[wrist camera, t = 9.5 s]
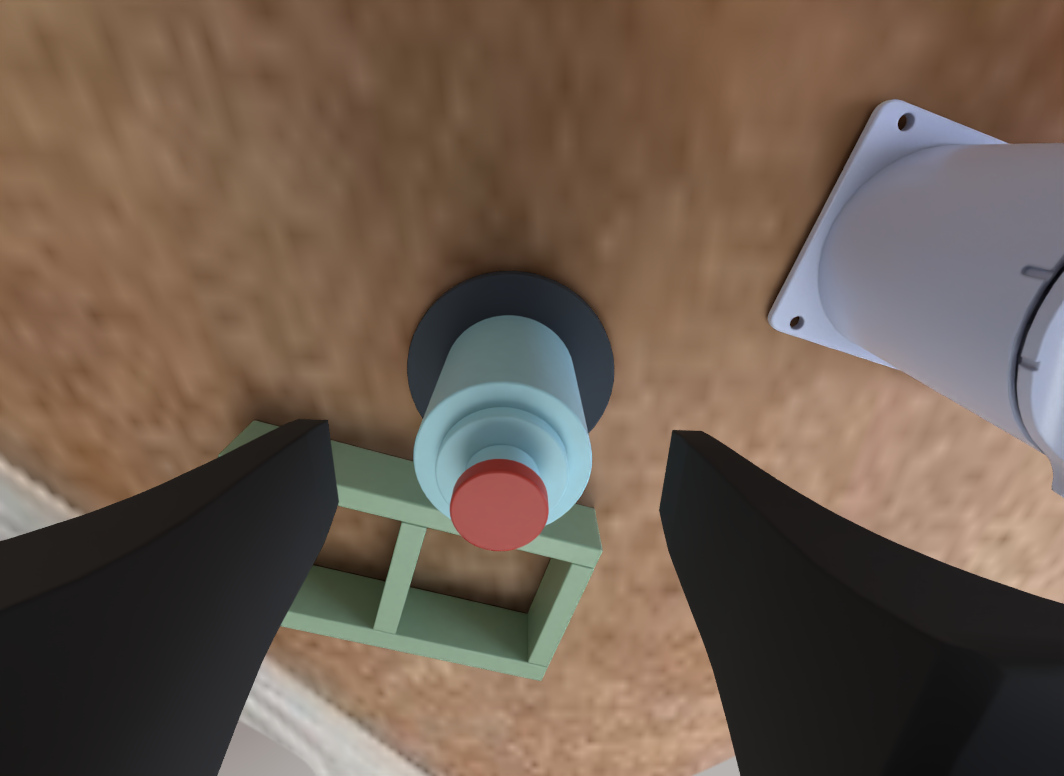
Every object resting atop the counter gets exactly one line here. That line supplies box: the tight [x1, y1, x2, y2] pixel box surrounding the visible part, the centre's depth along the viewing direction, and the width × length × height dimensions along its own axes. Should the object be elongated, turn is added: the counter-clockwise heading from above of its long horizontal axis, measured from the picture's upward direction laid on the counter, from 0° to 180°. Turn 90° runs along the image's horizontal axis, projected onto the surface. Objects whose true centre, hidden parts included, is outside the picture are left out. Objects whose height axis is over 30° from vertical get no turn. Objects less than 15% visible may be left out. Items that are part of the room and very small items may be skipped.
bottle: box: [413, 315, 592, 551], centre depth 17 cm, size 5×5×8 cm
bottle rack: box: [218, 420, 602, 681], centre depth 23 cm, size 8×15×3 cm, turn 72°
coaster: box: [407, 271, 614, 433], centre depth 21 cm, size 8×8×1 cm
